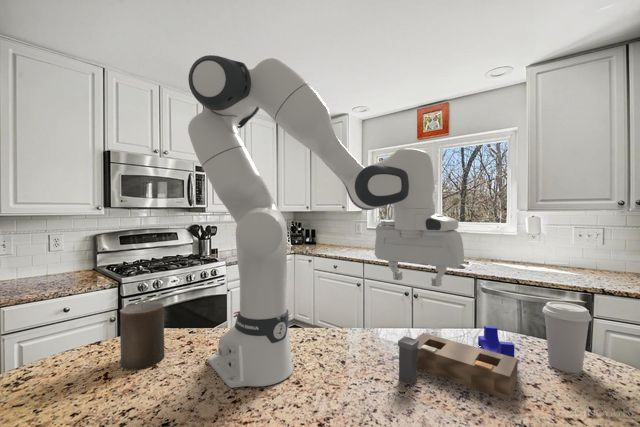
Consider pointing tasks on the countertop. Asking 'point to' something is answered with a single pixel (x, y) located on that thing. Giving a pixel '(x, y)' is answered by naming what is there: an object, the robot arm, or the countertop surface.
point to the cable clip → (495, 342)
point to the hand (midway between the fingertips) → (416, 282)
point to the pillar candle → (142, 335)
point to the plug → (408, 359)
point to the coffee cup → (566, 335)
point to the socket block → (468, 365)
